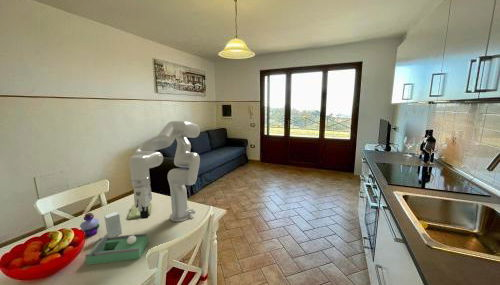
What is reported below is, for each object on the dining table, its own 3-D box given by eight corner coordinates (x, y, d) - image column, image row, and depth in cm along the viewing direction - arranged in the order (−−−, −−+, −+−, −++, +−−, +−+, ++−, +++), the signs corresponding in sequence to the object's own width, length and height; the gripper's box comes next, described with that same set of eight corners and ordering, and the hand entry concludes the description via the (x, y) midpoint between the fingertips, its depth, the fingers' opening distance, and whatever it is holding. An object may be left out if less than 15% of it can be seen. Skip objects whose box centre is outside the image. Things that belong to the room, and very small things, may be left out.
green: (147, 241, 108) (146, 230, 107) (139, 258, 96) (138, 246, 95) (101, 247, 104) (99, 235, 103) (86, 264, 92) (84, 252, 91)
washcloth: (127, 221, 128) (126, 216, 128) (132, 207, 144) (131, 203, 144) (150, 217, 133) (150, 212, 132) (152, 204, 149) (152, 200, 148)
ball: (137, 240, 103) (137, 233, 102) (135, 245, 99) (134, 238, 98) (129, 241, 102) (128, 234, 101) (125, 246, 98) (124, 239, 97)
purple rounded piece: (102, 233, 115) (99, 213, 113) (82, 240, 109) (79, 220, 107) (99, 227, 121) (96, 208, 119) (80, 233, 115) (77, 213, 113)
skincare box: (119, 230, 118) (116, 211, 116) (122, 233, 115) (119, 213, 113) (106, 235, 113) (104, 215, 111) (109, 238, 110) (106, 218, 108)
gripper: (144, 187, 89) (148, 225, 93) (154, 175, 104) (157, 209, 107) (125, 188, 88) (130, 227, 91) (138, 176, 103) (141, 210, 106)
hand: (144, 217), depth 99 cm, fingers closed
